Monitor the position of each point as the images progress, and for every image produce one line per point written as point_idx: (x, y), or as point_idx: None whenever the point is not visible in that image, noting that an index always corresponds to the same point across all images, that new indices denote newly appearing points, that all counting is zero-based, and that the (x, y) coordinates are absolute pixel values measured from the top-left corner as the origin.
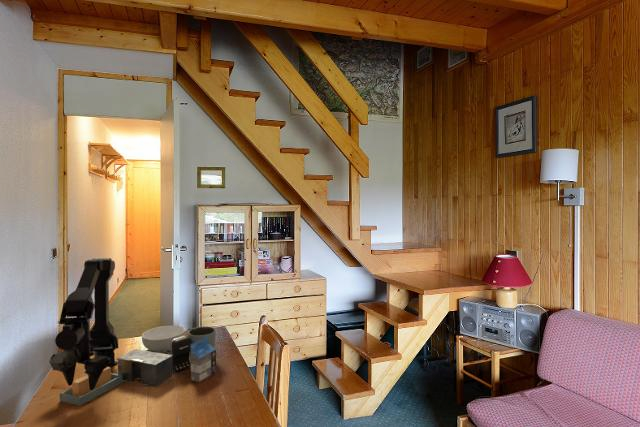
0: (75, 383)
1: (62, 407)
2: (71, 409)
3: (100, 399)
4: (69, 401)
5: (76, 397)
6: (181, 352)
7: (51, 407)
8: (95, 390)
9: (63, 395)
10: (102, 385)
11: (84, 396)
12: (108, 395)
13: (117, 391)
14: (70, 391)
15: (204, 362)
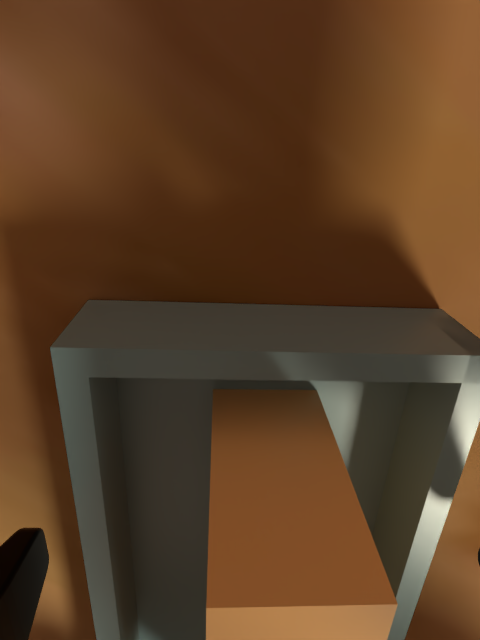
0: (292, 583)
1: (269, 192)
2: (95, 189)
3: (7, 465)
4: (275, 313)
5: (122, 347)
6: None
7: (425, 141)
8: (85, 551)
9: (412, 345)
10: (107, 637)
11: (65, 413)
12: None
13: None
14: (418, 457)
15: None
